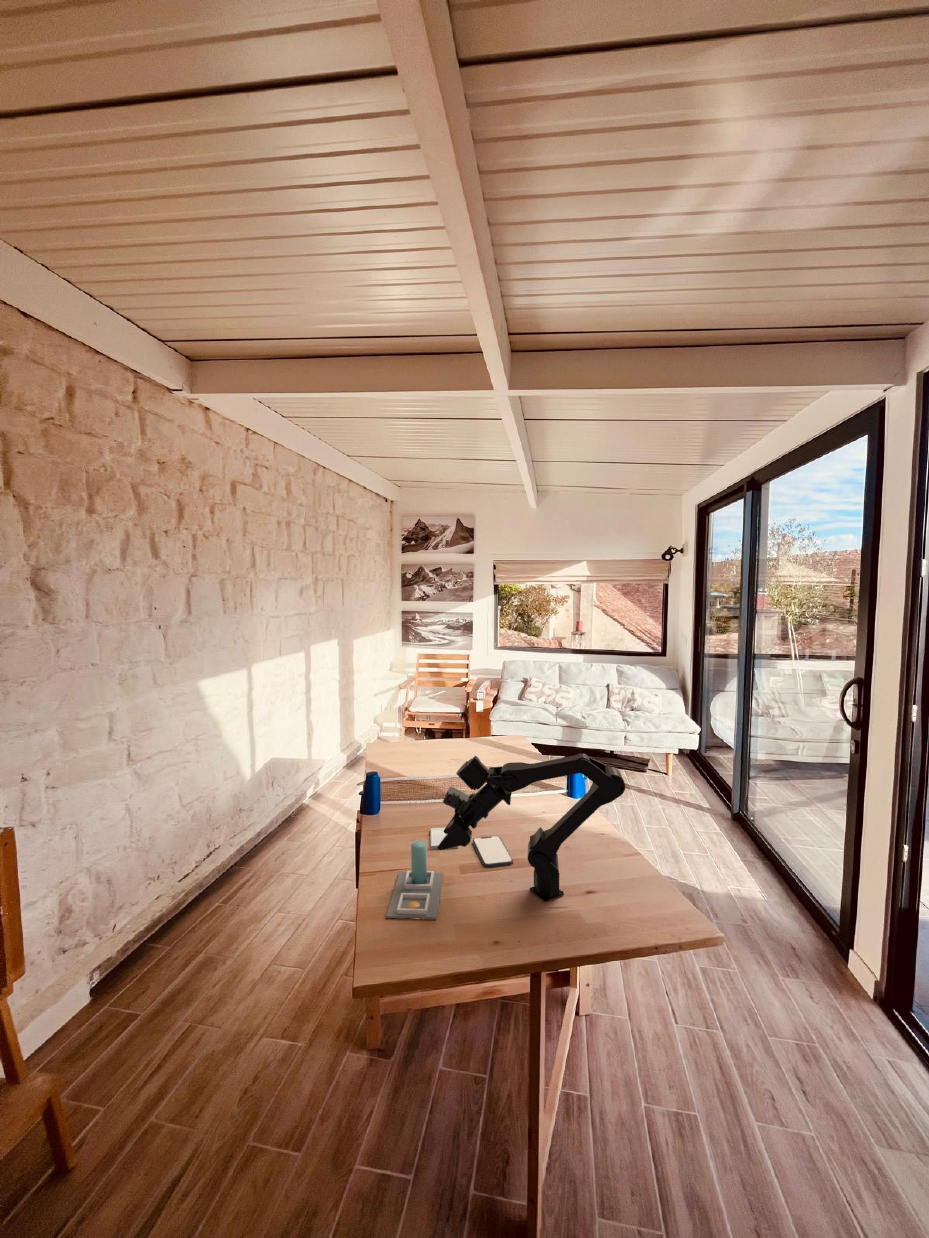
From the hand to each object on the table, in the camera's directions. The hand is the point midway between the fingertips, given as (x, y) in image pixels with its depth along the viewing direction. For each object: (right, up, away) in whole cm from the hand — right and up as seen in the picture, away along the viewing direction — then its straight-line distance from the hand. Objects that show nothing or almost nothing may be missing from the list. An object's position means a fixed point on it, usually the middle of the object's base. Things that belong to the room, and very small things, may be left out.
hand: (441, 840), depth 146 cm
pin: (-6, -12, +2) cm, 13 cm away
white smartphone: (+14, -12, +19) cm, 26 cm away
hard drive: (0, -11, +27) cm, 29 cm away
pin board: (-6, -13, -4) cm, 14 cm away
